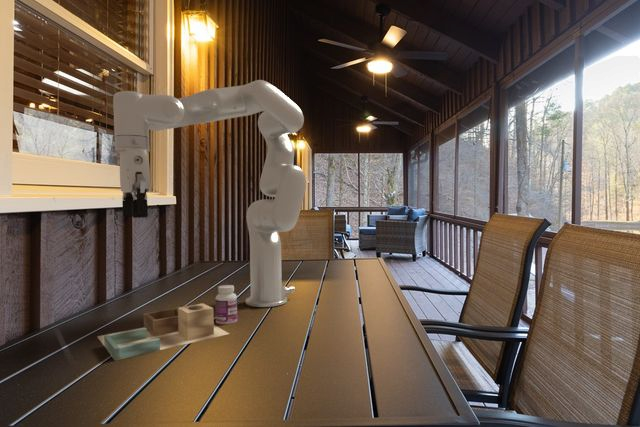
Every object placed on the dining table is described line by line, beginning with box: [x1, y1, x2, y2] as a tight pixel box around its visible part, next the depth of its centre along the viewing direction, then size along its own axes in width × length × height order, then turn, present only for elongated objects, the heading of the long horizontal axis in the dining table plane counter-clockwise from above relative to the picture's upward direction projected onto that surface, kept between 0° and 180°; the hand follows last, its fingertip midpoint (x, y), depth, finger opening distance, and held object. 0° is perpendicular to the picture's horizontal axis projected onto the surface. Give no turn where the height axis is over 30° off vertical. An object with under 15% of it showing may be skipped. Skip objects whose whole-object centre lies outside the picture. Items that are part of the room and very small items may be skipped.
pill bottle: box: [215, 284, 238, 325], centre depth 103 cm, size 5×5×10 cm
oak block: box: [177, 302, 215, 340], centre depth 93 cm, size 6×6×6 cm
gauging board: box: [96, 324, 231, 361], centre depth 92 cm, size 24×18×3 cm
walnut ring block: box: [143, 307, 179, 336], centre depth 97 cm, size 8×8×4 cm
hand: (134, 216), depth 97 cm, fingers open, 9 cm apart
